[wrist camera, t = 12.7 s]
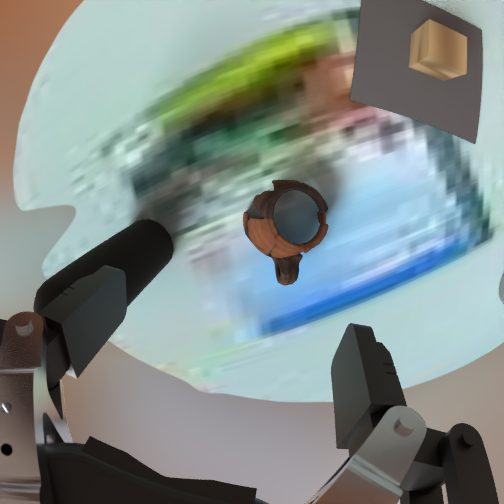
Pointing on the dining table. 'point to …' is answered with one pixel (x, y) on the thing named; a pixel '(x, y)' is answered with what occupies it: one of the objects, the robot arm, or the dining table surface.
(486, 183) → the dining table surface
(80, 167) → the dining table surface
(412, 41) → the oak block
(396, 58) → the charcoal mat
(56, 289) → the wine bottle
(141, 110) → the dining table surface
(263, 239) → the brown hollow rounded piece
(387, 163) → the dining table surface
